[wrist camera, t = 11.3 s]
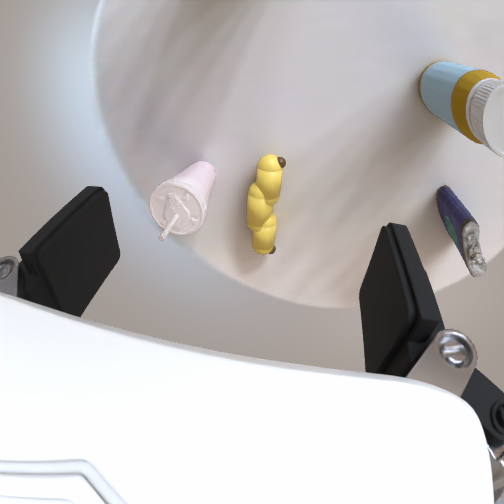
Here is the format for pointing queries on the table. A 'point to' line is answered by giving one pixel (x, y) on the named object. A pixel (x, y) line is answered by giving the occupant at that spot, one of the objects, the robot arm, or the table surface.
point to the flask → (461, 229)
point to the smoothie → (183, 200)
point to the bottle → (466, 101)
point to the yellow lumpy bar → (264, 203)
